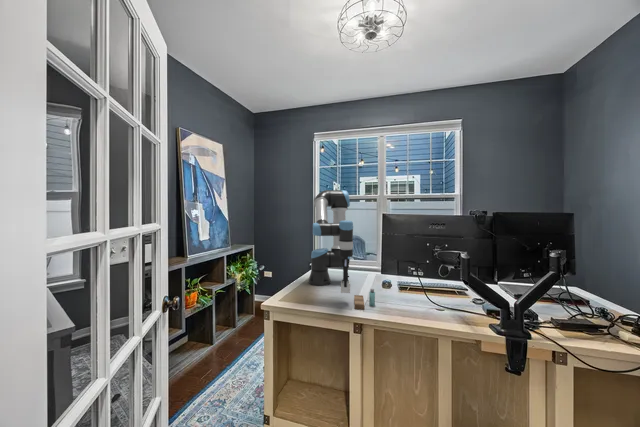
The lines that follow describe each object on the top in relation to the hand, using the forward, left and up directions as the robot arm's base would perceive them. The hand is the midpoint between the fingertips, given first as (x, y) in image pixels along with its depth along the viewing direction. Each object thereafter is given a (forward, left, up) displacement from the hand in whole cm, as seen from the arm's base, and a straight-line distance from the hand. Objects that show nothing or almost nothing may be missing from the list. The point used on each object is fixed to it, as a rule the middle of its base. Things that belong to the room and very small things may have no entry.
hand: (345, 290), depth 148 cm
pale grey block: (0, 0, 0) cm, 0 cm away
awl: (+1, +14, -7) cm, 16 cm away
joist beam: (+1, +7, -7) cm, 10 cm away
